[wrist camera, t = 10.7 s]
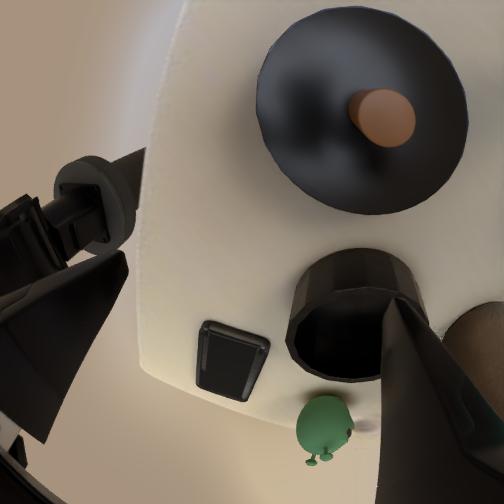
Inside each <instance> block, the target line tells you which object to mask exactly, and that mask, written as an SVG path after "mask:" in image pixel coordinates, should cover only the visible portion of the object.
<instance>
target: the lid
mask: <svg viewBox="0 0 504 504" xmlns="http://www.w3.org/2000/svg"><path fill="white" fill-rule="evenodd" d="M257 114H258V121H259V125H260V129H261V132H262V136H263V138H264V141H265V143H266V145H267V148H268V150H269V152H270V153H271V155H272V157H273V158H274V160H275V162H276V163H277V164H278V166H279V167H280V168H281V170H282V171H283V172H284V174H285V175H286V176H287V177H288V178H289V179H290V180H291V181H292V182H293V183H294V184H295V185H297V186H298V187H299V188H300V189H301V190H302V191H304V192H305V193H307V194H308V195H310V196H311V197H313V198H314V199H316V200H318V201H320V202H322V203H324V204H326V205H328V206H331V207H333V208H336V209H338V210H342V211H346V212H350V213H355V214H363V215H382V214H391V213H395V212H399V211H403V210H406V209H408V208H411V207H413V206H416V205H417V204H419V203H421V202H423V201H425V200H426V199H428V198H429V197H430V196H432V195H433V194H435V193H436V192H437V191H438V190H439V189H440V188H441V187H442V186H443V185H444V184H445V183H446V181H447V180H448V179H449V178H450V176H451V175H452V173H453V172H454V170H455V168H456V167H457V165H458V163H459V160H460V158H461V156H462V153H463V150H464V146H465V142H466V137H467V129H468V113H467V106H466V100H465V96H464V92H463V89H462V86H461V83H460V81H459V78H458V76H457V74H456V72H455V70H454V68H453V67H452V65H451V63H450V61H449V60H448V59H447V57H446V56H445V55H444V53H443V52H442V51H441V49H440V48H439V47H438V46H437V45H436V44H435V43H434V42H433V41H432V40H431V39H430V38H429V37H428V36H426V35H425V34H424V33H423V32H421V31H420V30H419V29H417V28H416V27H414V26H413V25H411V24H409V23H408V22H406V21H404V20H402V19H400V18H398V17H395V16H393V15H391V14H387V13H384V12H381V11H377V10H372V9H366V8H338V9H331V10H327V11H324V12H320V13H317V14H315V15H312V16H310V17H308V18H306V19H304V20H302V21H301V22H299V23H297V24H296V25H294V26H293V27H292V28H290V29H289V30H288V31H287V32H286V33H285V34H283V36H282V37H281V38H280V39H279V40H278V41H277V42H276V44H275V45H274V46H273V48H272V50H271V51H270V53H269V54H268V56H267V58H266V60H265V63H264V65H263V67H262V70H261V73H260V77H259V81H258V88H257Z"/></svg>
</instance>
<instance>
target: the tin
mask: <svg viewBox="0 0 504 504" xmlns="http://www.w3.org/2000/svg"><path fill="white" fill-rule="evenodd" d="M394 297H398V298H404V299H406V300H407V301H408V303H409V304H410V305H411V306H412V307H413V308H414V309H415V310H416V312H417V313H418V314H419V315H420V316H421V317H422V319H423V320H424V321H425V322H426V323H427V325H428V326H429V320H428V316H427V313H426V309H425V306H424V303H423V299H422V296H421V293H420V290H419V287H418V285H417V283H416V281H415V278H414V276H413V274H412V272H411V271H410V269H409V268H408V267H407V266H406V265H405V264H404V263H403V262H402V261H401V260H400V259H398V258H396V257H395V256H393V255H391V254H389V253H386V252H384V251H380V250H376V249H369V248H354V249H346V250H342V251H338V252H335V253H332V254H330V255H328V256H326V257H324V258H322V259H320V260H319V261H317V262H316V263H314V264H313V265H312V266H311V267H310V268H309V269H308V270H307V271H306V272H305V273H304V274H303V276H302V277H301V279H300V280H299V283H298V284H297V286H296V290H295V295H294V300H293V305H292V310H291V315H290V320H289V324H288V329H287V334H286V339H285V343H286V345H287V348H288V350H289V353H290V355H291V358H292V359H293V360H294V361H295V362H296V363H297V364H298V365H299V366H301V367H302V368H303V369H304V370H305V371H306V372H308V373H311V374H313V375H316V376H318V377H320V378H323V379H325V380H330V381H338V382H346V383H357V382H366V381H374V380H377V379H380V378H381V346H382V321H383V317H384V314H385V312H386V310H387V308H388V305H389V303H390V301H391V299H392V298H394Z"/></svg>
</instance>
